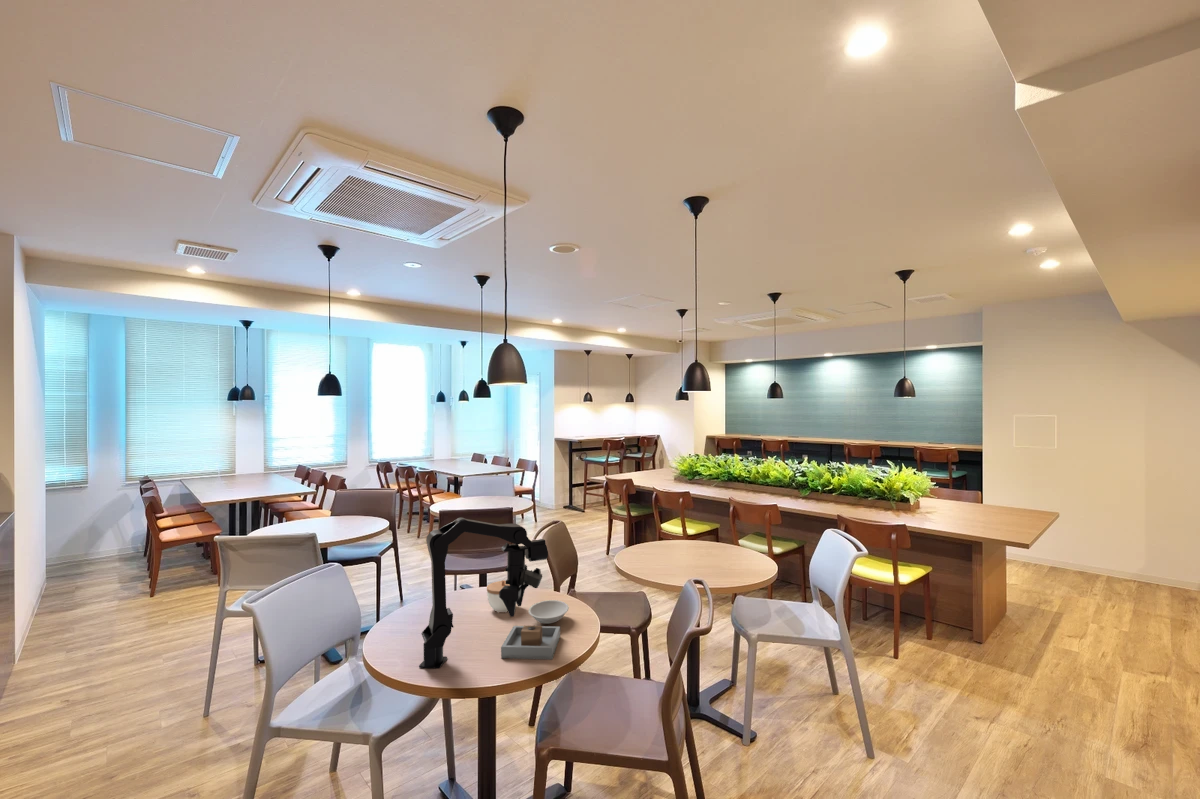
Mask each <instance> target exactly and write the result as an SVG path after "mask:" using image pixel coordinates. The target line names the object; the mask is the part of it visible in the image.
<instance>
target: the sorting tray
mask: <svg viewBox="0 0 1200 799" xmlns="http://www.w3.org/2000/svg"><path fill="white" fill-rule="evenodd" d="M524 626H525V625H513V626H512V628H511V629H510V631H509V633H508V635H507V636H506V638H505V640H504V641H503V643H502V645H501V646H500V650H501V651H500V656H501V658H500V659H505V658H510V659H511V660H515V659H518V660H553V658H554V656H555V653H556V650H557V648H556V647H558V645H557V644H559V641H560V639H561V626H554V625H553V626H549V625H548V626H544V625H541V626H542V643H541V646H521V630H522V629H523V627H524ZM559 638H560V639H559ZM513 658H514V659H513Z"/></svg>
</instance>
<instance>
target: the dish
mask: <svg viewBox="0 0 1200 799" xmlns="http://www.w3.org/2000/svg"><path fill="white" fill-rule="evenodd" d="M569 608H570V607H569V605H568V604H567V603H566V602H565V601H563V600H558V599H557V600H556V599H549V600H542V601H539V602H536V603H534V604H532V605H531V606H530V607H529V608H528V614H529V616H530V617H532V618H533V619H534V620H536V622H538V623H541V624H544V625H545V624H546V625H547V624H553V623H556V622H558V621H559V620H561V619H562V618H563V617H564V616H565V614H566V613H567V612H569Z"/></svg>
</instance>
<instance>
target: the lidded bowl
mask: <svg viewBox="0 0 1200 799" xmlns="http://www.w3.org/2000/svg"><path fill="white" fill-rule="evenodd" d="M505 585H508V586H510V584H506V580H504V579H503V580H499V581H494V582H490V583H488V585H487V586H486V596H487V601H488V604H489V607H490V608H491V609H492V610H493V611H494V610H495V611H497V612H496V613H498V612H505V613H508V612H507V611H508V610H507V608H506V606H505V604H504V602H503V601H502V600H501V598H499V591H500V590H501V589H502V588H503V587H504V586H505ZM516 605H517V602H516ZM495 611H494V612H495Z"/></svg>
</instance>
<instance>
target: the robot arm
mask: <svg viewBox="0 0 1200 799" xmlns="http://www.w3.org/2000/svg"><path fill="white" fill-rule="evenodd" d="M464 533H468V534H475V535H481V536H488V537H494V538H500V539H501V540H504V541H506V542H505V544H504V545H503V546H501V547H500V549H501V551H503V552H504V553H507V561H506V562H507V563H506V564H507V566H506V567H505V572H506V573H507V577H506V578H507V579H506V580H505V581H506V584H510V586H508V585H505V586H504V587H503V588H502V589H501V590H500V591H499V598H501V600H502V601H503V602H504V604H505V606H506V608H507V610H508V612H507V613H508V615H509V617H510V618H511V617H512V618H513V617H514V616H515V612H516V606H517V607H521V606H522V604H523V599H524V595H525V591H526V589H527V588H528V587H529V586H530V587H532V588H534V589H538V588H539V586H540V584H541V581H542V579H543V574H542V573H541V568H538V567H536V568H535V569H534V570H532V569H531V570H529V569H528V566H527V564H526V560H528V561H529V563H530V562H538V561H546V560H547V559H548V558H549V551H548V546H547V543H546V540H545V539H544V538H540V539H537V540H536V539H535V540H530V538H529V537H528V532H527V529H526V528H525V527H523V526H521V525H520V524H518V523H501V524H500V523H499V524H498V523H497V524H496V523H492V522H485V521H481V520H480V521H479V520H474V519H469V518H466V517H465V518H464V517H463V516H461V517H458V518H456V519H455V520H453V521H452V522H450V523H447V524H446V525H443V526H442V527H440V528H439V529H435V530H432V531H430V532H428V534H427V535H426V540H425V541H426V546H427V550H428V553H429V554H428V555H429V558H430V561H431V562H430V563H431V593H432V594H431V595H432V596H431V597H432V598H431V601H432V602H431V603H432V606H431V607H432V608H431V609H430V610H431V611H430V613H429V614H430V615H429V620H428V624H427V625H426V627H425V628H424V630H423V631H421V636H422V638H423V639H422V640H423V641H424V643H423V660H422V662H421V663H420V664H419V665H418V667H419V668H420V669H422V668H424V669H439V668H441V667H442V666H443V665H444V663H445V662H446V661H447V659H448V656H447V655H445V656H444V645H445V644H446V640H447V638H448V637H449V636H450V635H451V633H452V628H454V627H455V626H454V625H453V618H454V613H453V612H452V610H451V608H450V607H447V592H446V591H447V589H446V586H447V585H446V559H447V557H448V552H449V545H450V544H452V543H453V542H455V540H457V539H458V538H459V537H460V536H461V535H463V534H464ZM508 542H509V543H511V544H509V543H508ZM516 602H517V604H516Z"/></svg>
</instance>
